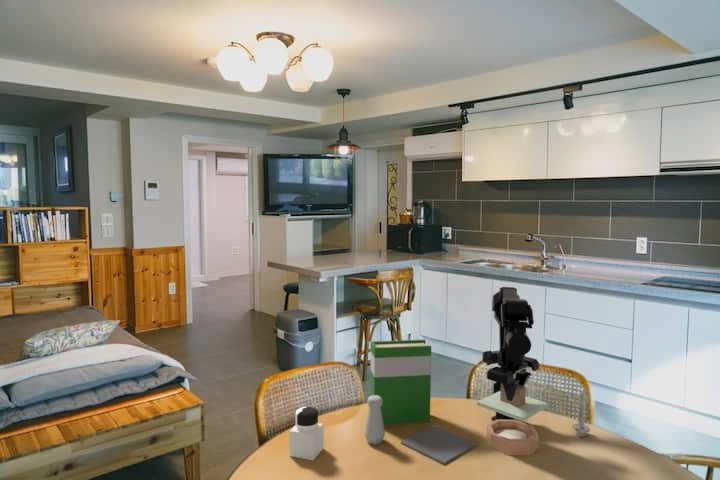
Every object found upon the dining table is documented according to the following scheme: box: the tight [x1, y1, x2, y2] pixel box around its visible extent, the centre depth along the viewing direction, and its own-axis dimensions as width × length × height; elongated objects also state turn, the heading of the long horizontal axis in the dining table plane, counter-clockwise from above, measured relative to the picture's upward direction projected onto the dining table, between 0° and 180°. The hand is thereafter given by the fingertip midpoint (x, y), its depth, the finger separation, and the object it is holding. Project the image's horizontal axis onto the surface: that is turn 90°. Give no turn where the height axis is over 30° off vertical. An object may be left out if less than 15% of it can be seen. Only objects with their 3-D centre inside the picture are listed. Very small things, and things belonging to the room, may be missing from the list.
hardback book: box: [369, 339, 432, 426], centre depth 152 cm, size 18×7×24 cm, turn 98°
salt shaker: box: [363, 395, 386, 446], centre depth 138 cm, size 6×6×13 cm
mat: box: [400, 425, 478, 466], centre depth 136 cm, size 15×15×1 cm
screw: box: [571, 391, 591, 438], centre depth 142 cm, size 13×5×5 cm
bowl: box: [486, 419, 540, 456], centre depth 137 cm, size 13×13×4 cm
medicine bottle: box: [288, 406, 325, 462], centre depth 131 cm, size 7×7×12 cm
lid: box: [476, 383, 549, 422], centre depth 136 cm, size 14×14×6 cm
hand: (512, 398), depth 136 cm, fingers closed on lid, 3 cm apart
